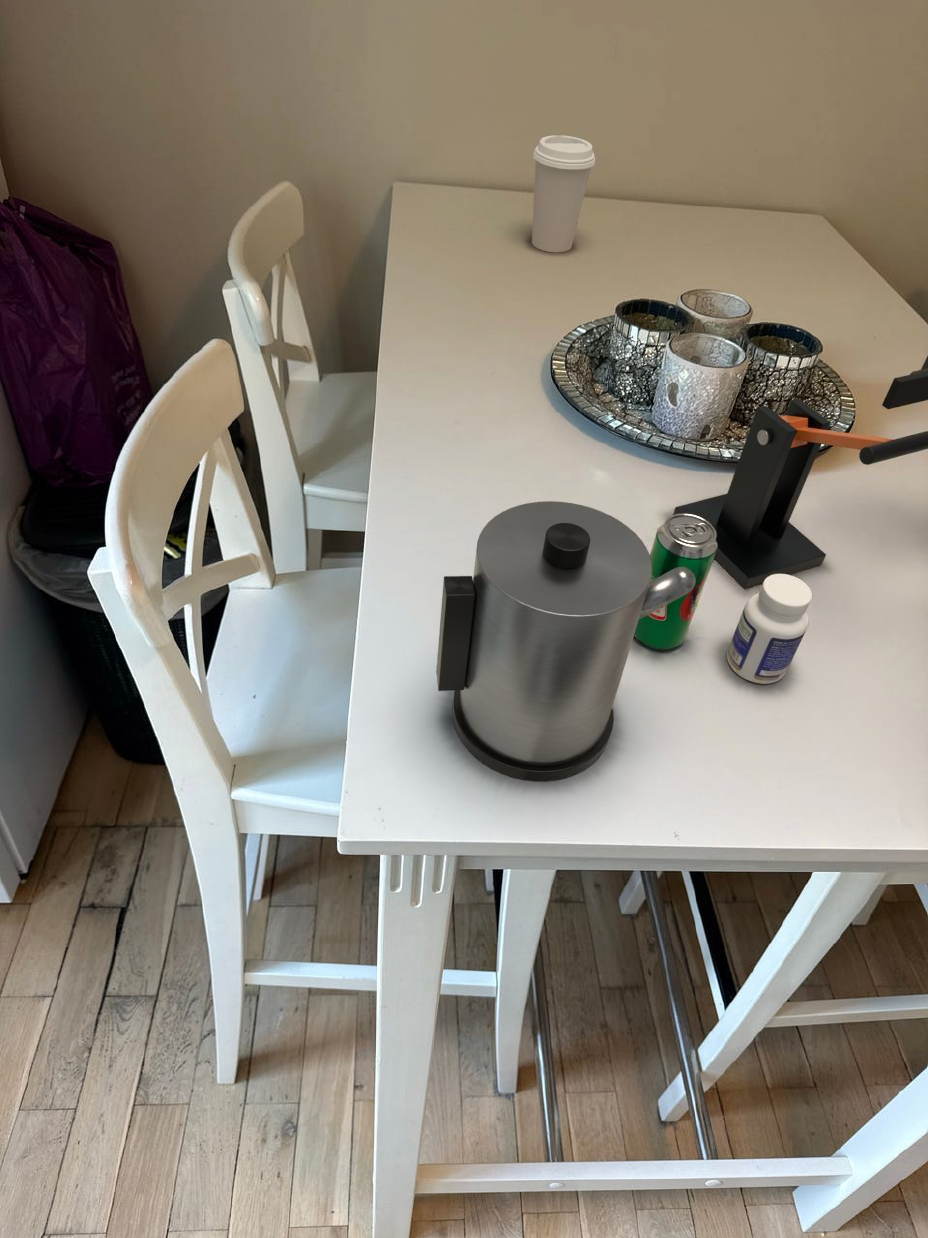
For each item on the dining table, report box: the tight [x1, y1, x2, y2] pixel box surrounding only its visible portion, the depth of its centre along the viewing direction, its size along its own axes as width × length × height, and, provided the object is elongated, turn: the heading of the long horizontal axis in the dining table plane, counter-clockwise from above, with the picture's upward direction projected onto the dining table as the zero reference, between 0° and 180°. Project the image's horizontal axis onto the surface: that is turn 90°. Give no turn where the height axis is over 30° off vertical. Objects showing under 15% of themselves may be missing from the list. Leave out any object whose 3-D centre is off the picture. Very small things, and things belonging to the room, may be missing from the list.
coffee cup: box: [531, 134, 596, 254], centre depth 137 cm, size 10×10×15 cm
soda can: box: [634, 514, 718, 650], centre depth 76 cm, size 5×5×12 cm
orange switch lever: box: [779, 415, 928, 466], centre depth 77 cm, size 14×7×2 cm, turn 26°
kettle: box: [435, 500, 695, 782], centre depth 65 cm, size 18×13×19 cm
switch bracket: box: [672, 398, 831, 589], centre depth 85 cm, size 12×10×15 cm
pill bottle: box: [726, 574, 813, 685], centre depth 75 cm, size 5×5×9 cm
